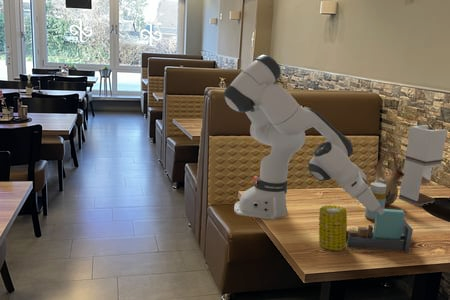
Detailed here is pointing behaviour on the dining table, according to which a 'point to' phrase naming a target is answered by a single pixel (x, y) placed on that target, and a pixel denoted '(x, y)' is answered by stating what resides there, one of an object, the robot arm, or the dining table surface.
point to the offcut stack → (361, 232)
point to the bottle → (380, 195)
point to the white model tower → (421, 162)
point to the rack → (383, 241)
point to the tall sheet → (388, 224)
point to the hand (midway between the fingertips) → (378, 207)
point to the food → (332, 227)
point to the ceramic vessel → (388, 179)
